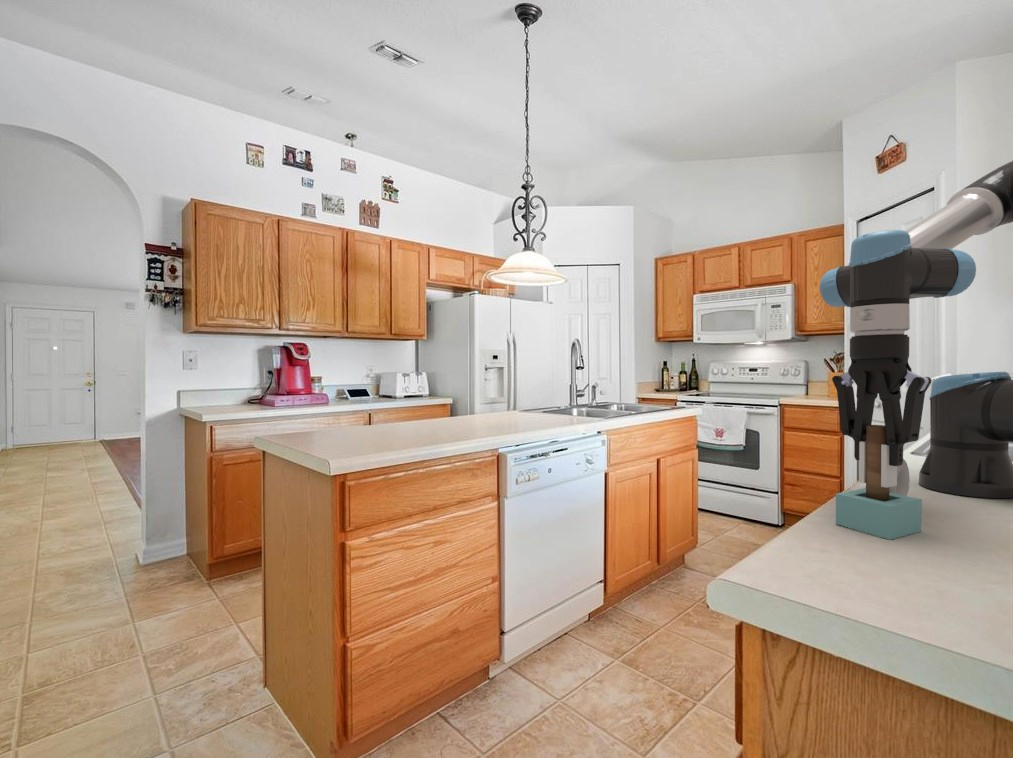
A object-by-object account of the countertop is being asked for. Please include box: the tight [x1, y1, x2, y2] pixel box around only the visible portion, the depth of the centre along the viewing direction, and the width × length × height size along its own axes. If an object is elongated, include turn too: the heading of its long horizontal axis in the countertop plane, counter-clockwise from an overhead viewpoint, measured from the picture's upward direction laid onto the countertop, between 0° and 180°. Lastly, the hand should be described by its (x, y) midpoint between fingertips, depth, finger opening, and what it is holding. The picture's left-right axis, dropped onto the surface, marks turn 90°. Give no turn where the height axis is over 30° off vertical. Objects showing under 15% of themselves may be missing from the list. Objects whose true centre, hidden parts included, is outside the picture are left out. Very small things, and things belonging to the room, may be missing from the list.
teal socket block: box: [835, 487, 923, 541], centre depth 81 cm, size 8×8×5 cm
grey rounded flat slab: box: [890, 458, 910, 496], centre depth 90 cm, size 10×3×10 cm, turn 126°
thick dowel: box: [865, 424, 890, 502], centre depth 80 cm, size 3×3×14 cm
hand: (877, 483), depth 80 cm, fingers closed on thick dowel, 2 cm apart
